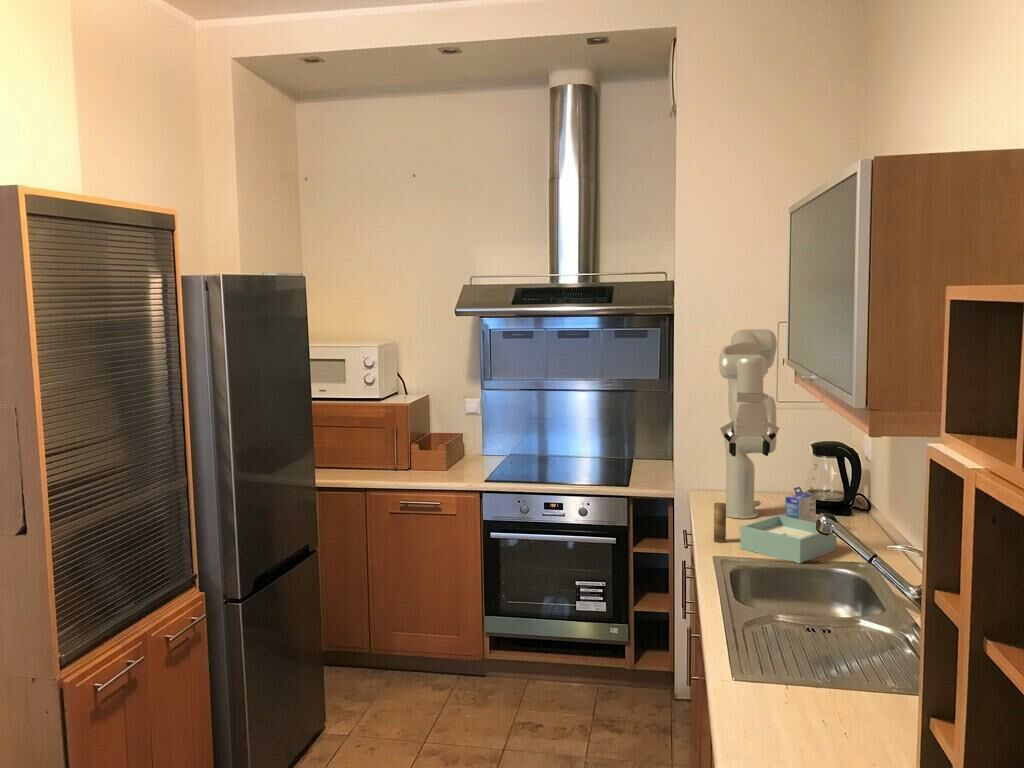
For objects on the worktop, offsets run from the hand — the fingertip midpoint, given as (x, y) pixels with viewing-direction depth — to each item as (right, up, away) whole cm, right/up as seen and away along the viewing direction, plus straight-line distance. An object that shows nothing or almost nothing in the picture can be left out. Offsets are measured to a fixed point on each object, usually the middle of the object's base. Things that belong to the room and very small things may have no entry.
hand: (749, 455), depth 247 cm
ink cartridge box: (+23, -27, +23) cm, 42 cm away
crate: (+13, -29, +4) cm, 32 cm away
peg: (-5, -28, +13) cm, 32 cm away
